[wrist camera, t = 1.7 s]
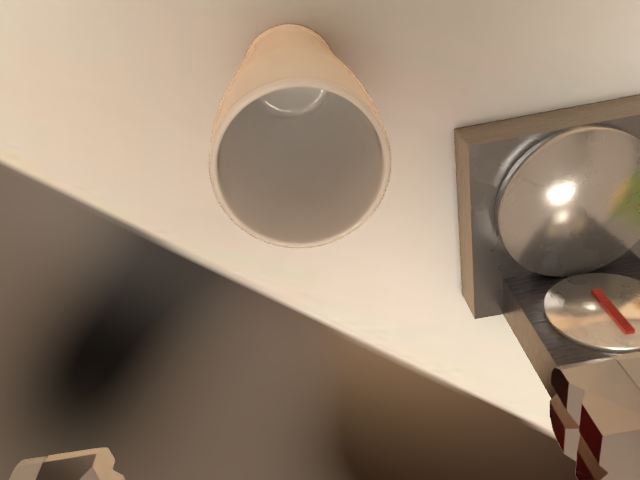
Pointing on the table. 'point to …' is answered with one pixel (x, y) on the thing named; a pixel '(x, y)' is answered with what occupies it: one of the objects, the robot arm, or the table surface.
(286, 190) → the drinking glass
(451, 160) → the table surface
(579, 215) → the dial scale
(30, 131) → the table surface
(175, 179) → the table surface
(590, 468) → the robot arm
